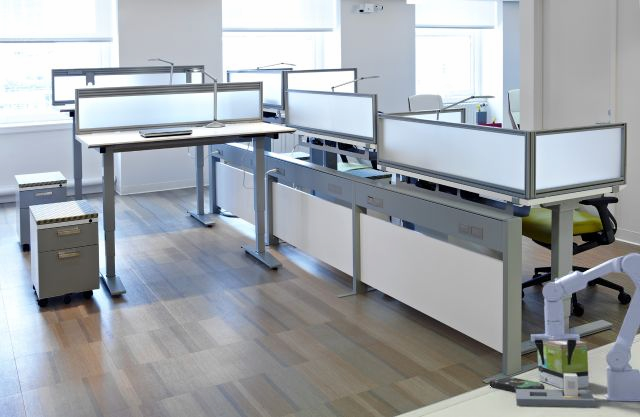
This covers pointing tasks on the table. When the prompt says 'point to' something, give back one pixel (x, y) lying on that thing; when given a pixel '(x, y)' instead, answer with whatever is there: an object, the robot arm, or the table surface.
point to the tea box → (563, 363)
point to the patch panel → (553, 398)
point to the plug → (570, 385)
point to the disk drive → (515, 384)
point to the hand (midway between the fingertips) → (556, 364)
